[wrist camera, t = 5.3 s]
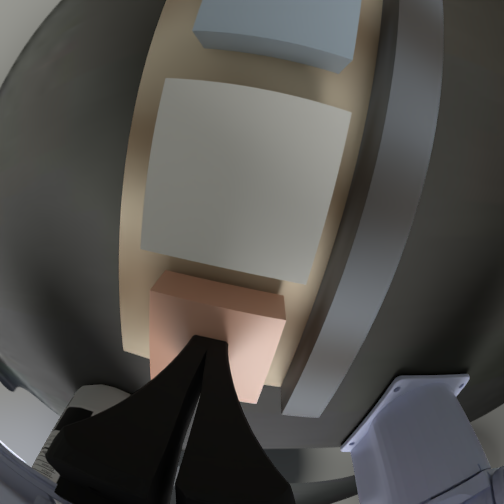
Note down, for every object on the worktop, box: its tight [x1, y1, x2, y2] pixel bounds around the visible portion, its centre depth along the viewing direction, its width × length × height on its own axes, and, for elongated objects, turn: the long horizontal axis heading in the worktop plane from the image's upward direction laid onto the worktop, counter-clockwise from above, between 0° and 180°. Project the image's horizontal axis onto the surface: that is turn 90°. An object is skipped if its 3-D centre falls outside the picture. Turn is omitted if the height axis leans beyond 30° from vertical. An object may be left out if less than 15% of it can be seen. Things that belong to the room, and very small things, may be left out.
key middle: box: [140, 78, 352, 285], centre depth 8 cm, size 5×5×2 cm
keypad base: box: [119, 0, 444, 418], centre depth 10 cm, size 21×11×3 cm, turn 168°
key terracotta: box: [149, 270, 286, 404], centre depth 11 cm, size 5×5×2 cm
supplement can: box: [32, 384, 131, 504], centre depth 11 cm, size 8×8×15 cm
